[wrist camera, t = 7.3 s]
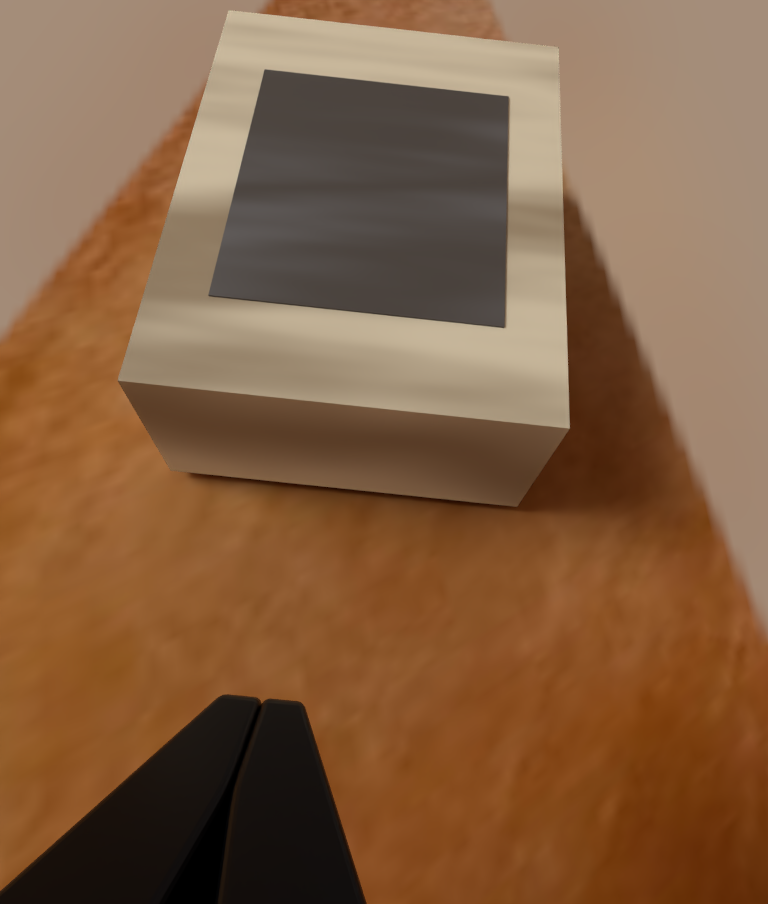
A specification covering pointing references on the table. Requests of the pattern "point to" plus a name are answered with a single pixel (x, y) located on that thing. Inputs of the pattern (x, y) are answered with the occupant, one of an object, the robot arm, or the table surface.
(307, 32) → the birch block
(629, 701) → the table surface
